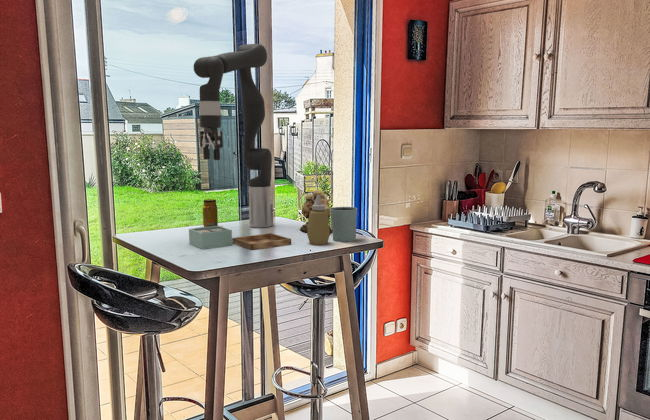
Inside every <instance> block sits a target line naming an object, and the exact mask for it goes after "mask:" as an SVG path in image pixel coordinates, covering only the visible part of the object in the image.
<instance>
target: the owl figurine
mask: <svg viewBox="0 0 650 420" xmlns="http://www.w3.org/2000/svg"><path fill="white" fill-rule="evenodd" d="M317 195H320V197H321V201H322V205H325V210H324V211H326V212H328V221H330V217H331V212H330V204H329V202H330V201H329V199H328V198H327V196H326V195H325V193H324V192H323V191H321V190H320V189H315V190H313V191H312V193H308V194H306V195H305V196H304V199H305V201H304V202H303V205H302V209H301V214H302V215H303V217H304V218H305V219H307V220H308V221H307V222H305V224H303V225H302V226H300V228H299V231H300V232H301V233H303V234H306V233H307V232H308V222H309V213H310V212H311V211H313V210H312V205H315V201H316V196H317ZM329 231H330V235H332V232H333V231H332V227H330V226H329Z"/></svg>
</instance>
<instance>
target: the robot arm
mask: <svg viewBox="0 0 650 420" xmlns="http://www.w3.org/2000/svg"><path fill="white" fill-rule="evenodd" d="M267 61H268V52H267V50H266V47H265V46H264V45H263V44H260V43H248V44H245V43H244V44H241V45H239V46H238V48H237V51H231V52H224V53H221V54H220V53H219V54H217V55H213V56H210V55H209V56H203V57H199V58H197V59H196V60H195V61H194V62H193V72H194V74H195V75H196V76H197V77H199V78H201V79H207V78H208V81H207V82H206V83H205V84H201V85H200V87H199V105H198V106H199V127H200V128H201V129H202V128H203V130H200V131H199V146H200V148H201V150H202V151H203V152H202V153H203V155H202V157H203V160H210V158H211V152H210V147H211V146H212V149H213V150H212V151H213V155H212V156H213V158H212V160H214V161H220V160H221V156H220V155H221V153H220V151H221V149H223V148H224V142H223V131H222V130H219V129H220V128H222V112H221V111H222V110H221V102H220V101H221V100H220V99H221V98H220V97H221V96H220V94H221V93H220V90H221V85H222V81H223V77H224V74H227V73H231V72H234V71H238V72H239V81H240V89H241V90H240V91H241V92H240V93H241V108H242V109H241V110H242V119H243V121H242V122H243V134H244V135H243V137H244V138H243V139H244V140H243V143H244V144H243V147H244V148H243V158H244V160H243V162H244V166H245V168H246V169H247V170H249V171H260V172H259V175H257V176H255V177H253V178H250V179H249V180H248V203H249V205H248V206H249V208H248V209H249V215H248V216H249V217H248V218H249V227H250V228H259V229H260V228H261V229H262V228H268V227H269V228H270V227H272V226H274V206H273V205H274V204H273V203H272V199H271V198H272V197H271V196H272V194H271V193H272V191H271V189H272V186H271V182H272V167H273V165H272V164H273V163H272V162H273V157H272V153H271V150H270V148H264V147H263V148H261V147H258V148H257V147H256V146H255V143H256V137H257V134H258V132H259V130H260V128H261V126H262V125H263V124H264V120H265V118H266V106H265V99H264V96H263V95H262V92H261V91H260V89H259V88H258V87H257V85H256V84H255V82H254V79H253V75H252V69H253V68H254V69H255V68H261V67H263V66H265V65H266V63H267ZM218 128H219V129H218Z"/></svg>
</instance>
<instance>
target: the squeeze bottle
mask: <svg viewBox="0 0 650 420" xmlns="http://www.w3.org/2000/svg"><path fill="white" fill-rule="evenodd" d="M312 210H313V211H311V212H310V213H309V219H308V221H309V222H308V221H307V222H308V232H307V234H306V235H307V238H308V241H309V245H312V246H325V245H327V244H328V241H329V239H330V235H331V234H330V231H329V227H330V222H329V221H330V220H329V221H328V212H326V211H324V210H325V205H322V201H321V197H320V195H317V196H316V201H315V205H312Z"/></svg>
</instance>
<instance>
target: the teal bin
mask: <svg viewBox="0 0 650 420" xmlns="http://www.w3.org/2000/svg"><path fill="white" fill-rule="evenodd" d="M220 226H221V225H218V226H211V227H203V226H202V227H194V228H192V227H191V228H189V229H188V242H189V245H191V246H194V247H195V248H199V249H200V250H206V249H214V248H221V247H223V248H224V247H228V246H230V247H231V246H233V244H232V238H233V232H232V231H233V230H232V229H230V228H226V227H224V226H223V227H220ZM219 228H220V229H223V230H224V231H216V232H208V233H201V232H198V231H201V230H208V231H209V230H210V229H219Z"/></svg>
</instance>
